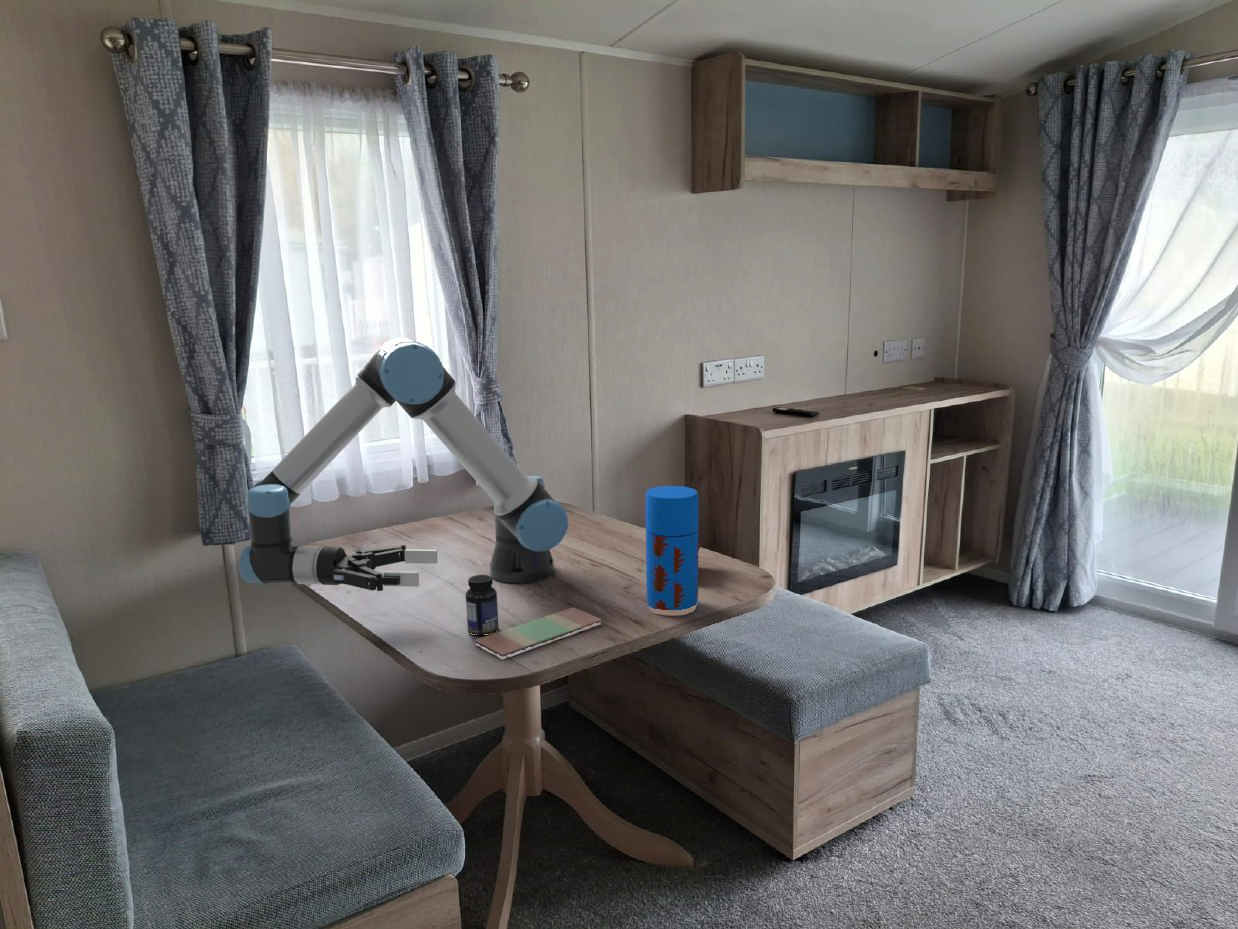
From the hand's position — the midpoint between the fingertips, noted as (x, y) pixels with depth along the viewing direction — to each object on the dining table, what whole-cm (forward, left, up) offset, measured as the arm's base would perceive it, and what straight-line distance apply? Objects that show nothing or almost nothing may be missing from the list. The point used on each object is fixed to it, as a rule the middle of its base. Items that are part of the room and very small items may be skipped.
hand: (428, 567), depth 176 cm
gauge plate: (+17, +14, -13) cm, 26 cm away
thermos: (+24, +43, -14) cm, 51 cm away
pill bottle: (+7, +7, -14) cm, 17 cm away
